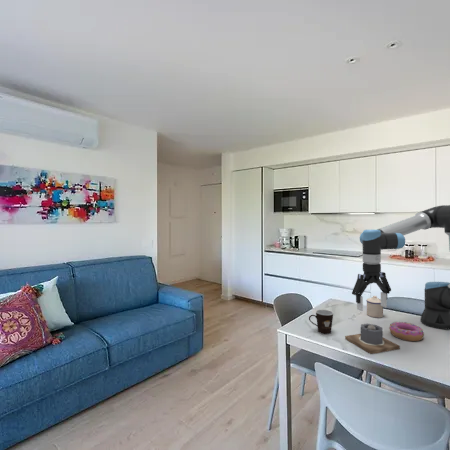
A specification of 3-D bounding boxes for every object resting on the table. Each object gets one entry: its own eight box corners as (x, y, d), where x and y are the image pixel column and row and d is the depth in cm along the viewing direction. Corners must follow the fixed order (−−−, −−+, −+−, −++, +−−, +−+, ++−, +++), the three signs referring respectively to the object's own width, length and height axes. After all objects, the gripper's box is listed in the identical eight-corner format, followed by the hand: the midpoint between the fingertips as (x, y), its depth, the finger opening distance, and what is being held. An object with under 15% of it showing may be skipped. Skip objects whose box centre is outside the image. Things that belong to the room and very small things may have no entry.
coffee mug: (333, 329, 150) (333, 310, 150) (332, 335, 142) (332, 316, 142) (311, 326, 155) (311, 308, 155) (308, 332, 147) (308, 313, 147)
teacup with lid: (386, 317, 166) (387, 298, 166) (372, 318, 165) (372, 298, 165) (374, 310, 178) (374, 292, 177) (360, 311, 177) (360, 293, 177)
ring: (371, 335, 139) (371, 322, 138) (387, 342, 130) (387, 330, 130) (356, 337, 136) (356, 325, 136) (371, 345, 127) (371, 332, 127)
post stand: (372, 334, 143) (372, 317, 143) (399, 348, 128) (399, 329, 127) (345, 339, 138) (345, 321, 138) (370, 354, 123) (370, 334, 123)
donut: (407, 344, 133) (407, 333, 132) (382, 332, 146) (382, 322, 146) (431, 340, 136) (431, 330, 136) (405, 329, 150) (405, 319, 150)
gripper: (355, 266, 125) (355, 314, 125) (399, 262, 132) (400, 307, 132) (343, 263, 132) (343, 308, 133) (386, 259, 139) (386, 302, 140)
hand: (371, 308), depth 133 cm, fingers open, 13 cm apart
